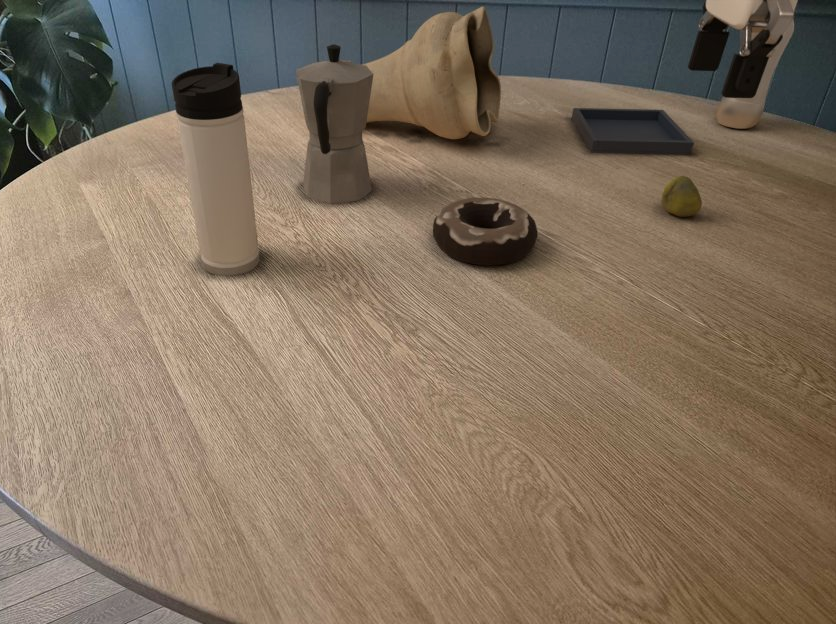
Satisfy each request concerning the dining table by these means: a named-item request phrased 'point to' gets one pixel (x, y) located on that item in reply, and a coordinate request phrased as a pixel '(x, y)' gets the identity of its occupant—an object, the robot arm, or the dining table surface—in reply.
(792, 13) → the robot arm
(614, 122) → the square tray
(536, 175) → the dining table surface
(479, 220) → the donut
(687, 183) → the lime
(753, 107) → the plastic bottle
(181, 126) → the travel mug
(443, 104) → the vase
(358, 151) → the coffeepot
